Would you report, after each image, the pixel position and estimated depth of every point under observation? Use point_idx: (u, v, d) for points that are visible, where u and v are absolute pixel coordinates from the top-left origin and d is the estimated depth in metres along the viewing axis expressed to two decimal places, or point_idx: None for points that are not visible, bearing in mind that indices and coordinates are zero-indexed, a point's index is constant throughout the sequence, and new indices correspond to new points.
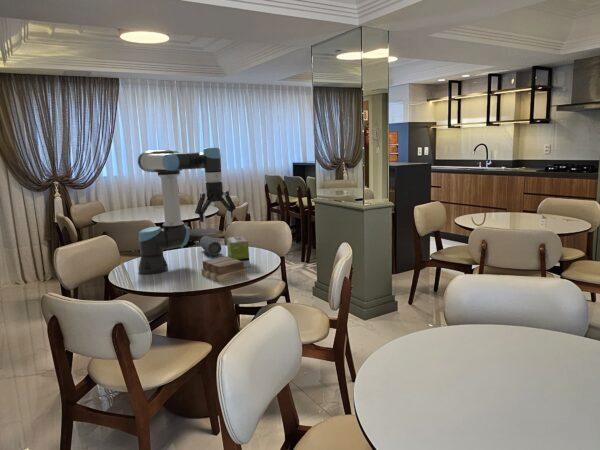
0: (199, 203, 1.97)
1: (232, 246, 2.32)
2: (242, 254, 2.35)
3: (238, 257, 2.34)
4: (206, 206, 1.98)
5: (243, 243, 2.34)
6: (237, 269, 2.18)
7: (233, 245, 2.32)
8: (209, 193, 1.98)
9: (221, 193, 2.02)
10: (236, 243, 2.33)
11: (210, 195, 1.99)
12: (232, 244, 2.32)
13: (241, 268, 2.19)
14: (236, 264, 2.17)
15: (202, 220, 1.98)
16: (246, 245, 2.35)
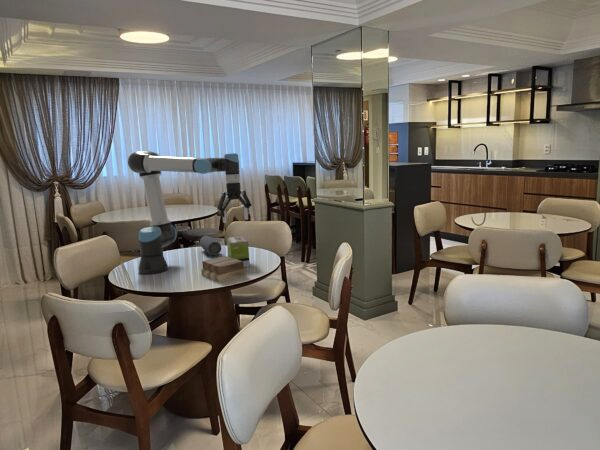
0: (221, 201, 2.30)
1: (232, 246, 2.32)
2: (242, 254, 2.35)
3: (238, 257, 2.34)
4: (226, 203, 2.31)
5: (243, 243, 2.34)
6: (237, 269, 2.18)
7: (233, 245, 2.32)
8: (229, 192, 2.31)
9: (239, 192, 2.35)
10: (236, 243, 2.33)
11: (230, 194, 2.32)
12: (232, 244, 2.32)
13: (241, 268, 2.19)
14: (236, 264, 2.17)
15: (223, 215, 2.31)
16: (246, 245, 2.34)
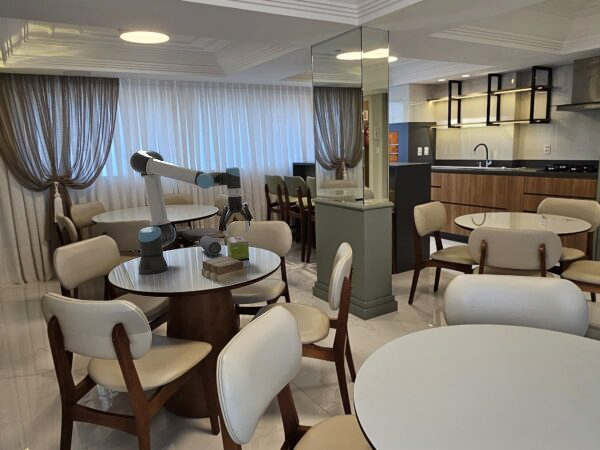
0: (222, 214, 2.32)
1: (232, 246, 2.32)
2: (242, 254, 2.35)
3: (238, 257, 2.34)
4: (228, 217, 2.33)
5: (243, 243, 2.34)
6: (237, 269, 2.18)
7: (233, 245, 2.32)
8: (231, 206, 2.34)
9: (240, 206, 2.38)
10: (236, 243, 2.33)
11: (232, 207, 2.34)
12: (232, 244, 2.32)
13: (241, 268, 2.19)
14: (236, 264, 2.17)
15: (225, 229, 2.33)
16: (246, 245, 2.35)
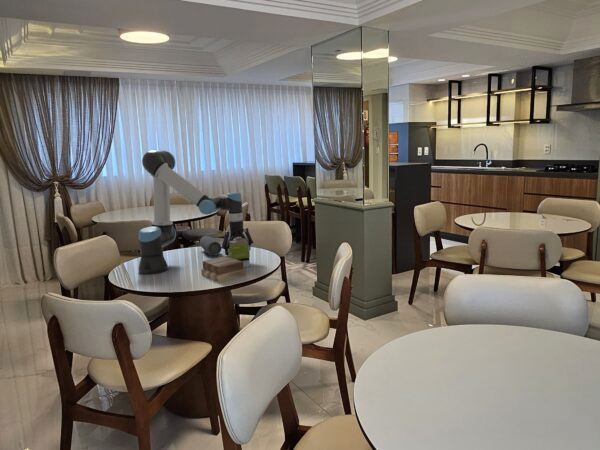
0: (224, 240, 2.35)
1: (232, 246, 2.32)
2: (242, 253, 2.34)
3: (239, 257, 2.34)
4: None
5: (243, 243, 2.34)
6: (237, 269, 2.17)
7: (233, 245, 2.32)
8: (232, 230, 2.36)
9: (242, 230, 2.40)
10: (236, 243, 2.33)
11: (233, 232, 2.37)
12: (232, 244, 2.32)
13: (241, 268, 2.19)
14: (236, 264, 2.17)
15: (227, 254, 2.36)
16: (246, 245, 2.34)
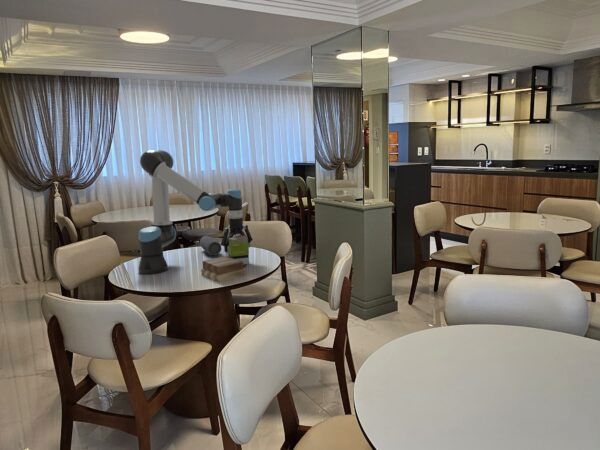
0: (224, 236, 2.35)
1: (232, 243, 2.32)
2: (242, 251, 2.34)
3: (238, 254, 2.34)
4: None
5: (243, 240, 2.34)
6: (236, 269, 2.17)
7: (233, 242, 2.32)
8: (232, 227, 2.36)
9: (241, 227, 2.40)
10: (236, 240, 2.32)
11: (232, 229, 2.36)
12: (232, 241, 2.32)
13: (240, 268, 2.19)
14: (235, 264, 2.17)
15: (226, 251, 2.36)
16: (246, 242, 2.34)
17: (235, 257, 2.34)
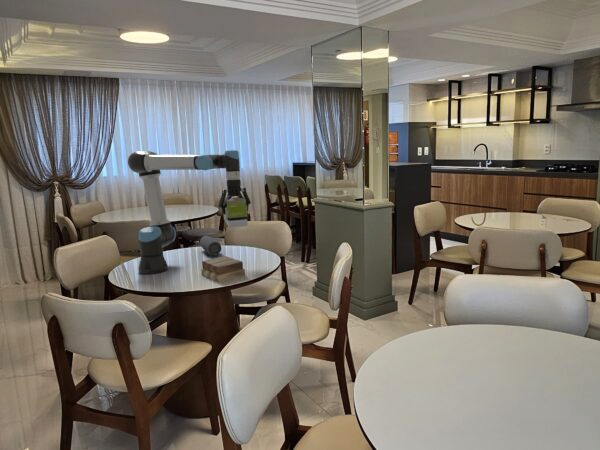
0: (221, 198, 2.31)
1: (230, 204, 2.28)
2: (240, 212, 2.31)
3: (236, 216, 2.30)
4: None
5: (241, 201, 2.30)
6: (236, 269, 2.18)
7: (231, 203, 2.28)
8: (229, 189, 2.32)
9: (239, 189, 2.36)
10: (234, 201, 2.29)
11: (230, 191, 2.33)
12: (230, 202, 2.28)
13: (240, 268, 2.19)
14: (235, 264, 2.17)
15: (224, 213, 2.32)
16: (244, 203, 2.31)
17: (233, 219, 2.30)
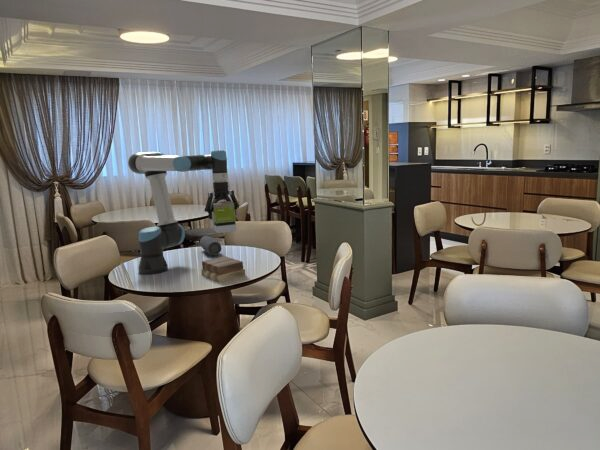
0: (208, 202, 2.15)
1: (217, 208, 2.12)
2: (228, 217, 2.15)
3: (224, 221, 2.14)
4: None
5: (229, 205, 2.14)
6: (236, 269, 2.18)
7: (218, 207, 2.12)
8: (216, 192, 2.16)
9: (227, 192, 2.21)
10: (221, 205, 2.13)
11: (217, 194, 2.17)
12: (217, 206, 2.12)
13: (240, 268, 2.19)
14: (235, 264, 2.17)
15: (211, 217, 2.16)
16: (232, 207, 2.15)
17: (220, 224, 2.14)
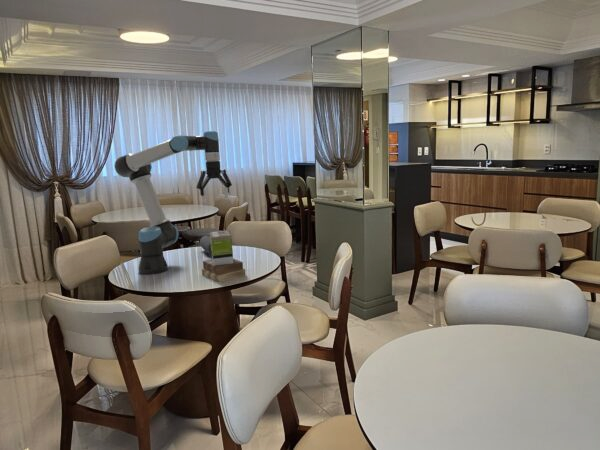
0: (200, 179, 2.27)
1: (213, 241, 2.11)
2: (225, 249, 2.13)
3: (221, 253, 2.13)
4: (206, 182, 2.28)
5: (226, 237, 2.13)
6: (236, 269, 2.17)
7: (214, 240, 2.11)
8: (208, 171, 2.29)
9: (219, 171, 2.33)
10: (218, 237, 2.12)
11: (209, 172, 2.29)
12: (213, 239, 2.11)
13: (240, 268, 2.18)
14: (235, 264, 2.16)
15: (202, 194, 2.28)
16: (229, 240, 2.13)
17: (217, 256, 2.13)
